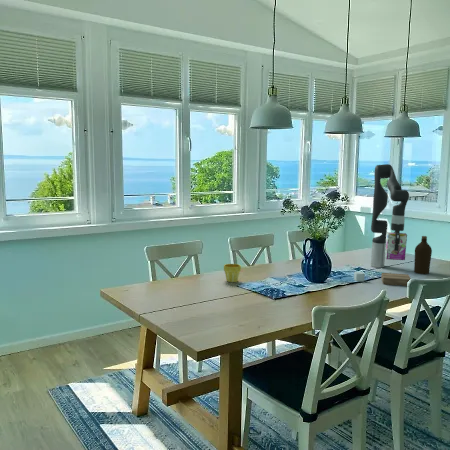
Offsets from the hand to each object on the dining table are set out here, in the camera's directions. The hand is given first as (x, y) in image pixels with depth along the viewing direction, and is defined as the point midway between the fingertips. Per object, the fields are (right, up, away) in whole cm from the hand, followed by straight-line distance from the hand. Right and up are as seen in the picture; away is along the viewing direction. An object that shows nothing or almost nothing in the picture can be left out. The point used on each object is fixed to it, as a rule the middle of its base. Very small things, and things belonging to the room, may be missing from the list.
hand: (395, 249), depth 288 cm
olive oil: (+28, -17, +29) cm, 44 cm away
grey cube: (-21, -20, +6) cm, 29 cm away
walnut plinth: (+1, -20, +3) cm, 21 cm away
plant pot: (-101, -19, -1) cm, 103 cm away
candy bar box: (0, -6, +1) cm, 6 cm away
